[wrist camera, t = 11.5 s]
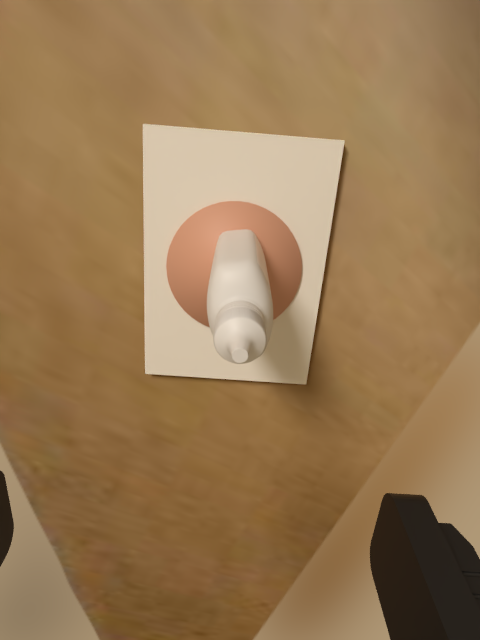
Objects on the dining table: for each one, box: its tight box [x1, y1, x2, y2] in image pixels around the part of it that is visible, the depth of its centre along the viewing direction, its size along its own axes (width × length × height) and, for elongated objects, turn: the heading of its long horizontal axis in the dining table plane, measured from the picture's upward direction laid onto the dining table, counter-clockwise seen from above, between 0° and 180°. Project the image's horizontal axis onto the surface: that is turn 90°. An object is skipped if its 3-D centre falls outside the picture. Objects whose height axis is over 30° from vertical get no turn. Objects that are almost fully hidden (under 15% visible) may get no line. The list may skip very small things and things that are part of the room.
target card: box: [143, 124, 345, 384], centre depth 30 cm, size 17×12×1 cm
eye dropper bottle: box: [207, 229, 273, 364], centre depth 24 cm, size 4×6×12 cm
